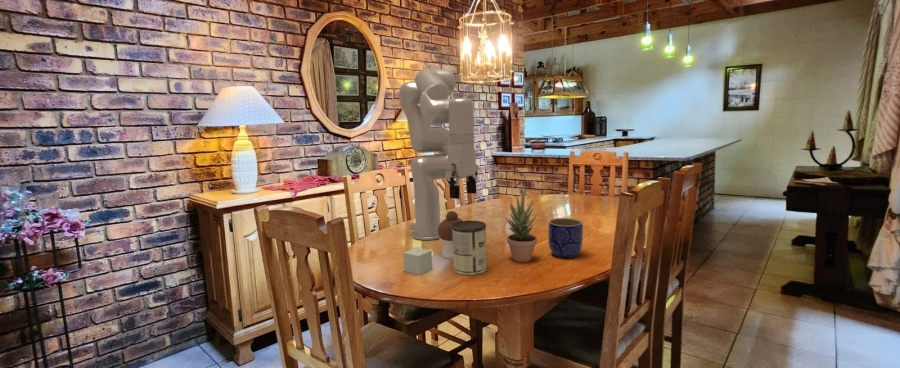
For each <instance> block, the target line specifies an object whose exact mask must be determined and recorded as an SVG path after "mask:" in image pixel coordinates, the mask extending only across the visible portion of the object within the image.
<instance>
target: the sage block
mask: <svg viewBox="0 0 900 368" xmlns="http://www.w3.org/2000/svg"><path fill="white" fill-rule="evenodd" d="M432 255H433V254H432V250H430V249H424V248H420V247H415V248H412V249H410V250H407V251H405V252H403V265H404V266H403V267H404V270H403V271H404V273H409V274H413V275H417V276H421V275H423V274H425V273H428V272H431V271H432V270H433V256H432Z"/></svg>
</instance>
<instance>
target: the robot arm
mask: <svg viewBox="0 0 900 368" xmlns="http://www.w3.org/2000/svg"><path fill="white" fill-rule="evenodd" d="M456 85H457V79H456V76H455V74H454V72H452V71H451V70H450V69H446V68H426V69H422V70H420V71H418V72H417V73H416V75H415V77H414V81H408V82H405V83H403V84H402V85H401V86H400V89H399V92H398V93H399V102H400V105H401V109H402V111H403V113H404V115H405V117H406V121H407V126H408V127H407V128H408V132H409V133H408V134H409V139H410V146H411V148H412V150H413V152H415V153H418V154H424V155H419V156H415V157H414V158H412V160H411V162H410V171H411V176H412V181H413V182H412V183H413V192H414V195H413V196H414V211H415V213H414V214H415V222H412V223H411V224H410V225H409V229H410V230H413V232H412V235H411V236H412V238H413V239H415V240H421V241H433V240H438V239H439V236H438V227H439V225H440V224H441V212H440V211H441V209H440V208H441V206H440V190H439V189H438V187H437V186H436V184H435V183H434V182H433V181H436V180H443V179H444V180H445V179H446V182H447V184H448V186H449V198H450V199H453V200H454V199H455V200H458V199H460V196H461V195H460V193H461V192H460V185H459V182H460V180H461V179H465V178H466V179H467V180H466V193H467V194H472V195H473V194H475V195H476V194H477V181H478V176H479V175H478V172H479V165H478V164H477V162H476V161H477V160H476V151H475V126H474V123H475V121H474V119H475V118H474V117H475V116H474V101H473V100H472V99H470V98H452V99H449V97H450V95H451V94H452V93H453V92H454V91H455V88H456ZM431 124H432V125H442V124H443V125H444V124H448V129H447V128H445V127H432V126H431ZM426 153H429V154H426ZM430 153H439V154H430ZM425 154H426V155H425ZM439 240H440V239H439Z"/></svg>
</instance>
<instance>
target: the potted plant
mask: <svg viewBox="0 0 900 368" xmlns="http://www.w3.org/2000/svg"><path fill="white" fill-rule="evenodd" d="M520 198H521V199H520V201H519V196H518V195H516V208H515V206H514V205H513V202H512V201H510V202H509V203H510V205H509V208H510V210H511V213H510V217H511V219H512V220H511V219H508V218H507V217H505V220H506V221H507V223H508V224H509V227H508V229H509V230H510V231H511V232H512V234H509V235H507V237H506V242H507V244H508V246H509V250H510V253H511V259H512V260H513V261H515V262H518V263H526V262H530V261H531V260H532V258H533V253H534V250H535V246H536V245H537V243H538V237H537V236H536V235H534V234H531V233H530V232H531V231H532V229H533V226H534V224H533V222H534V221H535V220H536V218H537V216H534V217H533V218H532V219H530V217H531V214H532V213H533V210H534V208H532V206H533V204H534V201H535V198H533V199H532V201H531V202H530V203H529V205H528V207H527V209H526V210H525V201H526V183H524V185H523V190H522V193H521V197H520Z"/></svg>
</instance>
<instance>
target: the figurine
mask: <svg viewBox="0 0 900 368" xmlns="http://www.w3.org/2000/svg"><path fill="white" fill-rule="evenodd" d="M445 218H446V219H442V221H440V225H439V227H438V236H439V240H440V242H442V243H443V246H442V249H441V253H440V254H441V257H442V258H443V259H447V260H454V259H453V233H452V224H454V223H456V222H460V221H463V219H462V218H460V217H459V215H458V213H457V212H456V211H452V210H451V211H447V213H446V215H445Z"/></svg>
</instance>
